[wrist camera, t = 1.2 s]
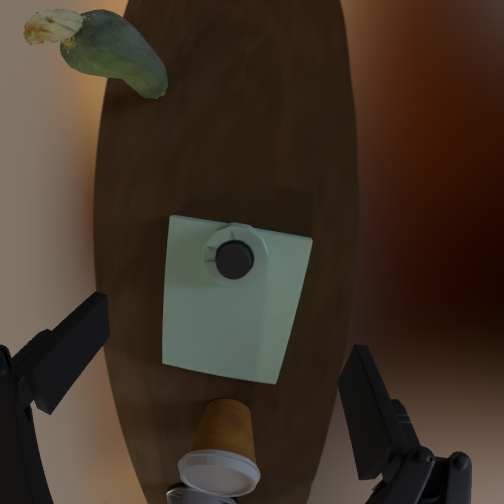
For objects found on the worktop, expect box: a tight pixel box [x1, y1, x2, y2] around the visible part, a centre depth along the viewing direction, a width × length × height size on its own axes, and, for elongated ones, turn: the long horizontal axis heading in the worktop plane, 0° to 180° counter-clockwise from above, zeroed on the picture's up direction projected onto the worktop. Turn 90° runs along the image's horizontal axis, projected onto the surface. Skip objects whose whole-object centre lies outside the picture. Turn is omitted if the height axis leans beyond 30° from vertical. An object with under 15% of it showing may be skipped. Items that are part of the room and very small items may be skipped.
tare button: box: [216, 242, 251, 280], centre depth 26 cm, size 3×3×2 cm
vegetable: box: [24, 9, 168, 99], centre depth 16 cm, size 4×4×20 cm
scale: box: [162, 215, 313, 384], centre depth 30 cm, size 18×14×3 cm
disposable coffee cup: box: [178, 398, 260, 497], centre depth 31 cm, size 10×10×12 cm
